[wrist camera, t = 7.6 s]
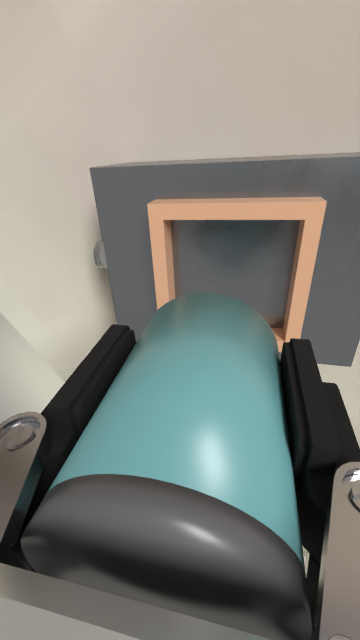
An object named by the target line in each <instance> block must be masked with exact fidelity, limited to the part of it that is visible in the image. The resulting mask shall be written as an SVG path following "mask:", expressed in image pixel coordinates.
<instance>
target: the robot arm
mask: <svg viewBox="0 0 360 640" xmlns="http://www.w3.org/2000/svg"><path fill="white" fill-rule="evenodd" d="M135 344H136V339H135V333H134V330H130V328H129V326H127V325H111V326H110V328H109V329H108V330H107V331H106V333H105V334H104V335H103V336H102V338H101V339H100V340H99V341H98V343H97V344H96V345H95V347H94V348H93V349H92V350H91V352H90V353H89V354H88V355H87V357H86V358H85V359H84V360H83V361H82V362H81V364H80V365H79V366H78V367H77V369H76V370H75V371H74V372H73V374H72V375H71V376H70V377H69V379H68V380H67V381H66V382H65V384H64V385H63V386H62V387H61V389H60V390H59V391H58V392H57V394H56V395H55V397H54V398H53V399H52V400H51V401H50V403H49V404H48V405H47V406H46V408H45V409H44V410H43V411H42V413H41V414H39V413H36V412H26V413H20V414H17V415H15V416H12V417H10V418H8V419H7V420H5V421H4V422H2V423H1V424H0V640H271V639H268V638H264V637H261V636H257V635H254V634H250V633H247V632H243V631H240V630H236V629H233V628H229V627H226V626H222V625H219V624H216V623H212V622H209V621H205V620H202V619H198V618H195V617H191V616H188V615H184V614H181V613H177V612H174V611H170V610H167V609H163V608H159V607H156V606H152V605H149V604H145V603H142V602H138V601H135V600H131V599H128V598H124V597H121V596H117V595H114V594H110V593H106V592H103V591H99V590H96V589H92V588H89V587H85V586H82V585H78V584H75V583H71V582H67V581H64V580H60V579H57V578H53V577H50V576H46V575H42V574H39V573H37V572H36V571H35V570H34V569H33V567H32V566H31V565H30V564H29V562H28V561H27V559H26V557H25V556H24V554H23V551H22V548H21V538H22V534H23V532H24V530H25V529H26V527H27V525H28V524H29V522H30V520H31V519H32V517H33V515H34V514H35V512H36V510H37V509H38V507H39V505H40V504H41V502H42V500H43V499H44V497H45V495H46V494H47V492H48V490H49V488H50V487H51V485H52V483H53V482H54V480H55V478H56V477H57V475H58V473H59V472H60V470H61V468H62V467H63V465H64V463H65V462H66V460H67V458H68V457H69V455H70V453H71V452H72V450H73V448H74V447H75V445H76V443H77V441H78V440H79V438H80V436H81V435H82V433H83V431H84V430H85V428H86V426H87V425H88V423H89V421H90V420H91V418H92V416H93V415H94V413H95V411H96V410H97V408H98V406H99V405H100V403H101V401H102V400H103V398H104V396H105V395H106V393H107V391H108V389H109V388H110V386H111V384H112V383H113V381H114V379H115V378H116V376H117V374H118V373H119V371H120V369H121V368H122V366H123V364H124V363H125V361H126V359H127V358H128V356H129V354H130V353H131V351H132V349H133V348H134V346H135ZM280 367H281V375H282V384H283V392H284V400H285V409H286V417H287V425H288V433H289V442H290V450H291V458H292V466H293V475H294V483H295V491H296V499H297V508H298V516H299V524H300V533H301V541H302V545H303V547H304V548H305V549H306V550H307V557H306V564H305V574H306V582H307V590H308V599H309V607H310V615H311V624H312V635H311V638H310V640H360V448H359V445H358V443H357V440H356V437H355V434H354V431H353V428H352V425H351V423H350V420H349V417H348V414H347V411H346V408H345V405H344V403H343V400H342V397H341V394H340V391H339V389H338V386H337V385H336V384H335V383H326V382H322V380H321V376H320V373H319V369H318V366H317V362H316V359H315V356H314V352H313V349H312V345H311V342H310V340H309V339H296V338H291V339H290V342H284V343H283V347H282V353H281V359H280Z"/></svg>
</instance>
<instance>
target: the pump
mask: <svg viewBox="0 0 360 640" xmlns="http://www.w3.org/2000/svg"><path fill="white" fill-rule="evenodd" d="M21 548H22V551H23V554H24V556H25V557H26V559H27V561H28V562H29V564H30V565H31V566H32V567H33V569H34V570H35V571H36V572H37V573H39V574H42V575H46V576H50V577H53V578H57V579H60V580H64V581H67V582H71V583H75V584H78V585H82V586H85V587H89V588H92V589H96V590H99V591H103V592H106V593H110V594H114V595H117V596H121V597H124V598H128V599H131V600H135V601H138V602H142V603H145V604H149V605H152V606H156V607H159V608H163V609H167V610H170V611H174V612H177V613H181V614H184V615H188V616H191V617H195V618H198V619H202V620H205V621H209V622H212V623H216V624H219V625H222V626H226V627H229V628H233V629H236V630H240V631H243V632H247V633H250V634H254V635H257V636H261V637H264V638H268V639H271V640H310V638H311V635H312V624H311V615H310V607H309V599H308V590H307V582H306V574H305V566H304V557H303V549H302V541H301V533H300V524H299V516H298V508H297V499H296V491H295V483H294V475H293V466H292V458H291V450H290V442H289V433H288V425H287V417H286V409H285V400H284V392H283V384H282V375H281V367H280V359H279V351H278V344H277V340H276V337H275V334H274V332H273V330H272V328H271V327H270V325H269V324H268V322H267V321H266V320H265V319H264V318H263V317H262V315H260V314H259V313H258V312H257V311H256V310H255V309H253V308H252V307H250V306H249V305H247V304H246V303H244V302H242V301H240V300H238V299H235V298H232V297H229V296H226V295H222V294H216V293H193V294H187V295H183V296H180V297H177V298H175V299H173V300H171V301H169V302H167V303H166V304H164V305H163V306H162V307H160V308H159V309H158V310H157V311H156V312H155V314H154V315H153V316H152V318H151V319H150V321H149V322H148V324H147V326H146V327H145V329H144V331H143V332H142V334H141V336H140V337H139V339H138V341H137V342H136V344H135V346H134V348H133V349H132V351H131V353H130V354H129V356H128V358H127V359H126V361H125V363H124V364H123V366H122V368H121V369H120V371H119V373H118V374H117V376H116V378H115V379H114V381H113V383H112V384H111V386H110V388H109V389H108V391H107V393H106V395H105V396H104V398H103V400H102V401H101V403H100V405H99V406H98V408H97V410H96V411H95V413H94V415H93V416H92V418H91V420H90V421H89V423H88V425H87V426H86V428H85V430H84V431H83V433H82V435H81V436H80V438H79V440H78V441H77V443H76V445H75V447H74V448H73V450H72V452H71V453H70V455H69V457H68V458H67V460H66V462H65V463H64V465H63V467H62V468H61V470H60V472H59V473H58V475H57V477H56V478H55V480H54V482H53V483H52V485H51V487H50V488H49V490H48V492H47V494H46V495H45V497H44V499H43V500H42V502H41V504H40V505H39V507H38V509H37V510H36V512H35V514H34V515H33V517H32V519H31V520H30V522H29V524H28V525H27V527H26V529H25V530H24V532H23V534H22V538H21Z"/></svg>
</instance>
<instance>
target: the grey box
mask: <svg viewBox="0 0 360 640" xmlns="http://www.w3.org/2000/svg"><path fill="white" fill-rule="evenodd" d="M90 173H91V179H92V184H93V190H94V195H95V201H96V207H97V212H98V218H99V223H100V229H101V235H102V240H103V241H99V242H97V243H96V245H95V248H94V260H95V263H96V265H97V266H98V267H99V268H106V269H108V274H109V279H110V285H111V290H112V296H113V302H114V307H115V313H116V318H117V324H118V325H127V326H129V328H130V330H134V333H135V339H136V342H137V341H138V339H139V337H140V336H141V334H142V332H143V331H144V329H145V327H146V326H147V324H148V322H149V321H150V319H151V318H152V316H153V315H154V314H155V312H156V311H157V310H158V309H159V308H160V307H162V306H163V305H164V304H166V303H167V302H169V301H171V300H173V299H175V298H177V297H180V296H183V295H187V294H193V293H216V294H222V295H226V296H229V297H232V298H235V299H238V300H240V301H242V302H244V303H246V304H247V305H249V306H250V307H252V308H253V309H255V310H256V311H257V312H258V313H259V314H260V315H262V317H263V318H264V319H265V320H266V321H267V322H268V324H269V325H270V327H271V328H272V330H273V332H274V334H275V337H276V340H277V344H278V351H279V359H281V353H282V347H283V343H284V342H290V339H291V338H296V339H309V340H310V342H311V345H312V349H313V352H314V356H315V359H316V362H317V363H318V364H328V365H339V366H349V367H351V365H352V362H353V358H354V355H355V352H356V349H357V346H358V343H359V340H360V152H358V153H335V154H313V155H291V156H269V157H247V158H224V159H202V160H180V161H158V162H136V163H124V164H116V165H108V166H100V167H92V168H90Z"/></svg>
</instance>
